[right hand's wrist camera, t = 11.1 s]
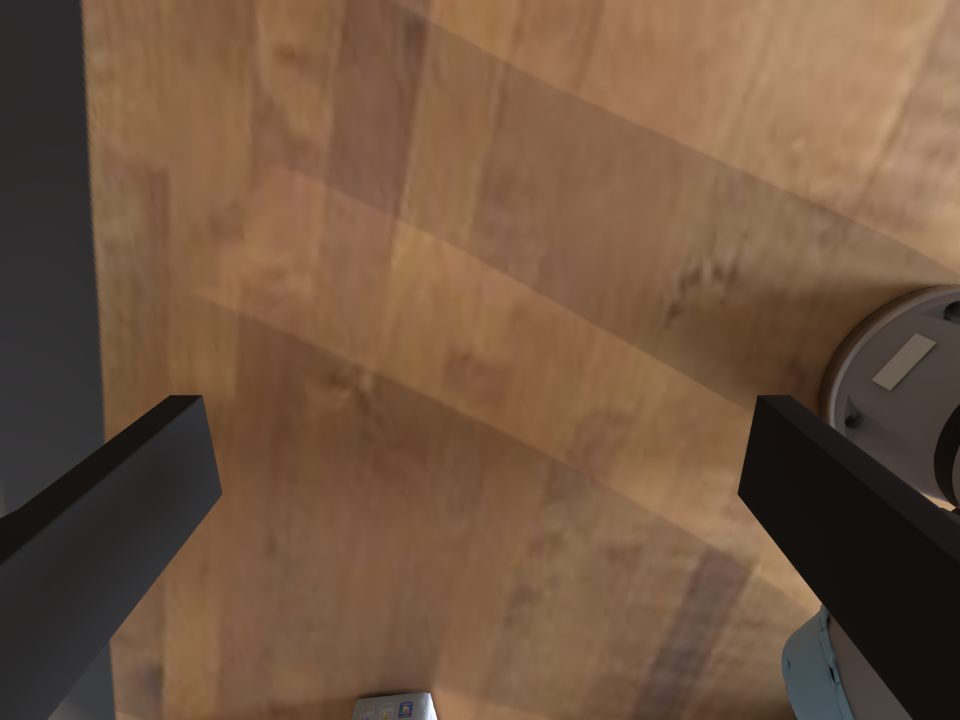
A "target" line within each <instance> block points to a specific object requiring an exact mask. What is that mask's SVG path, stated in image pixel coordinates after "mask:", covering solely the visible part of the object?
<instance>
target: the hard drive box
mask: <svg viewBox="0 0 960 720" xmlns="http://www.w3.org/2000/svg"><path fill="white" fill-rule="evenodd" d="M351 720H437V717H436V713H435V710H434V707H433V703H432V699H431V696H430V693H426V692H419V693H410V694H402V695H392V696H383V697H374V698H365V699H358V700H356V701H355V706H354V710H353V714H352V718H351Z"/></svg>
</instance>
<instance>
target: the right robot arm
mask: <svg viewBox="0 0 960 720" xmlns="http://www.w3.org/2000/svg"><path fill="white" fill-rule="evenodd" d="M820 415H821V418H820V417H818V416H817V415H816V414H814V413H813V412H812V411H810V410H809V409H808V408H806V407H805V406H804V405H802V404H801V403H800V402H798V401H797V400H796V399H794V398H793V397H792V396H790V395H758V396H757V401H756V406H755V411H754V416H753V421H752V425H751V430H750V435H749V440H748V445H747V450H746V455H745V460H744V465H743V469H742V474H741V479H740V484H739V489H738V495H739V497H740V498H741V499H742V500H743V502H744V503H745V504H746V506H747V507H748V508H749V509H750V511H751V512H752V513H753V515H754V516H755V517H756V518H757V520H758V521H759V522H760V524H761V525H762V526H763V528H764V529H765V530H766V531H767V533H768V534H769V535H770V537H771V538H772V539H773V540H774V542H775V543H776V544H777V546H778V547H779V548H780V549H781V551H782V552H783V553H784V555H785V556H786V557H787V558H788V560H789V561H790V562H791V564H792V565H793V566H794V567H795V569H796V570H797V571H798V573H799V574H800V575H801V576H802V578H803V579H804V580H805V582H806V583H807V584H808V586H809V587H810V588H811V589H812V591H813V592H814V593H815V595H816V596H817V597H818V598H819V600H820V601H821V602H822V605H821V608H820V611H819V612H818V613H817V614H816V615H815V616H813V617H812V618H811V619H810V620H809V621H808V622H806V623H805V624H804V625H803V626H802V627H800V628H799V629H798V630H797V631H796V632H795V633H793V634H792V635H791V636H790V638H789V639H788V640H787V642H786V644H785V646H784V649H783V653H782V673H783V677H784V681H785V684H786V691H787V694H788V697H789V700H790V703H791V705H792V708H793V710H794V713H795V715H796V718H797V720H960V285H944V286H936V287H931V288H926V289H923V290H919V291H916V292H913V293H910V294H908V295H905V296H903V297H901V298H899V299H897V300H894V301H892V302H891V303H889V304H887V305H886V306H884V307H882V308H881V309H879V310H878V311H876V312H875V313H873V314H872V315H871V316H869V317H868V318H867V319H866V320H864V321H863V322H862V323H861V324H860V325H859V326H858V327H857V328H856V329H855V330H854V331H853V332H852V333H851V334H850V335H849V336H848V337H847V339H846V340H845V341H844V342H843V344H842V345H841V346H840V348H839V349H838V351H837V352H836V354H835V355H834V357H833V359H832V361H831V363H830V365H829V367H828V369H827V372H826V374H825V377H824V380H823V384H822V388H821V394H820ZM919 492H920V493H919ZM921 493H923V494H925V495H928V496H931V497H934V498H937V499H940V500H943V501H946V502H949V503H950V504H952V505H953V506H955V507H956V508H955V509H954V510H952V511H951V512H950V511H948V510H946V509H944V508H939V507H938V506H937V505H935V504H934V503H933V502H931V501H930V500H929V499H927V498H926V497H925V496H923V495H922V494H921ZM221 495H222V489H221V484H220V479H219V474H218V469H217V465H216V460H215V455H214V450H213V445H212V440H211V435H210V430H209V425H208V421H207V416H206V411H205V406H204V401H203V396H202V395H170V396H168V397H167V398H166V399H164V400H163V401H162V402H160V403H159V404H158V405H156V406H155V407H154V408H152V409H151V410H150V411H148V412H147V413H146V414H144V415H143V416H142V417H140V418H139V419H138V420H136V421H135V422H134V423H132V424H131V425H130V426H128V427H127V428H126V429H125V430H123V431H122V432H121V433H119V434H118V435H117V436H115V437H114V438H113V439H111V440H110V441H109V442H107V443H106V444H105V445H103V446H102V447H101V448H99V449H98V450H97V451H95V452H94V453H93V454H91V455H90V456H89V457H87V458H86V459H85V460H83V461H82V462H81V463H79V464H78V465H77V466H75V467H74V468H73V469H71V470H70V471H69V472H67V473H66V474H65V475H63V476H62V477H61V478H59V479H58V480H57V481H55V482H54V483H53V484H51V485H50V486H49V487H47V488H46V489H45V490H43V491H42V492H41V493H39V494H38V495H37V496H35V497H34V498H33V499H31V500H30V501H29V502H27V503H26V504H25V505H23V506H22V507H21V508H20V509H18V510H16V511H14V512H12V513H10V514H8V515H6V516H4V517H2V518H0V720H48V718H49V717H50V716H51V714H52V713H53V712H54V711H55V709H56V708H57V707H58V705H59V704H60V703H61V701H62V700H63V699H64V698H65V696H66V695H67V694H68V692H69V691H70V690H71V689H72V687H73V686H74V685H75V683H76V682H77V681H78V679H79V678H80V677H81V676H82V674H83V673H84V672H85V671H86V669H87V668H88V667H89V665H90V664H91V663H92V661H93V660H94V659H95V658H96V656H97V655H98V654H99V652H100V651H101V650H102V649H103V647H104V646H105V645H106V643H107V642H108V641H109V640H110V638H111V637H112V636H113V634H114V633H115V632H116V631H117V629H118V628H119V627H120V625H121V624H122V623H123V622H124V620H125V619H126V618H127V616H128V615H129V614H130V613H131V611H132V610H133V609H134V607H135V606H136V605H137V604H138V602H139V601H140V600H141V598H142V597H143V596H144V595H145V593H146V592H147V591H148V589H149V588H150V587H151V586H152V584H153V583H154V582H155V580H156V579H157V578H158V576H159V575H160V574H161V573H162V571H163V570H164V569H165V567H166V566H167V565H168V564H169V562H170V561H171V560H172V558H173V557H174V556H175V555H176V553H177V552H178V551H179V549H180V548H181V547H182V546H183V544H184V543H185V542H186V540H187V539H188V538H189V537H190V535H191V534H192V533H193V531H194V530H195V529H196V528H197V526H198V525H199V524H200V522H201V521H202V520H203V518H204V517H205V516H206V515H207V513H208V512H209V511H210V509H211V508H212V507H213V506H214V504H215V503H216V502H217V500H218V499H219V498H220V497H221Z"/></svg>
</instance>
